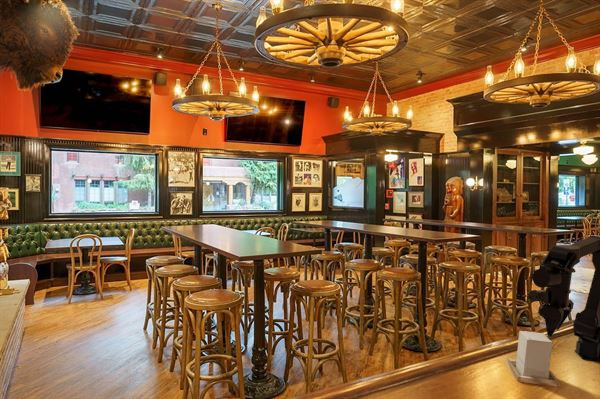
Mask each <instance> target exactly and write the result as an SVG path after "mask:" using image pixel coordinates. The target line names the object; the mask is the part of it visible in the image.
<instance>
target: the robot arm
mask: <svg viewBox="0 0 600 399" xmlns="http://www.w3.org/2000/svg"><path fill="white" fill-rule="evenodd" d="M588 255H591V263H592V265H593V268H594V272H593V275H592V276H593V277H592V279H591V283H590V288H589V291H588V294H587V299H586V303H585V307H584V309H583V310H581V311H579V312H577V313H575V318H574V321H573V325H572V326H573V335H574V336H575V337H577V338H578V339H577V340H576V345H575V349H574V353H576V354H577V355H578V357H580V358H581V359H582V360H586V361H595V362H600V236H599V235H594V234H593V235H589V236H588V237H586V238H584V239H582V240H579V241H577V242H574V243H571V244H558V245H554V246H552V247H551V248H550V249H549V251H548V252H547V253H546V256H545V257H544V259H543V261H542V262H541V264H540V265H539V267H538V268H537V269H535V270H534V271H533V273H532V274H531V281H532V284H533V283H534V285H535V286H536V287H538V288H545V289H534V290H532V289H530V290H529V291H528V292H527V296H526V299H528V301H529V303H535V302H543V304H542V305H540V306H539V307H538V311H537V314H539V316H540V317H542V318H543V319H544V323H545V328H546V336H547V337H553V335H554V334H555V332H556V331H559V330H560V328H561V327H562V325H563V324H564V323H565V321H566V319H567V318H568V317H569V315H570V314H571V312H572V310H573V309H574V304H575V303H574V302H573V300H572V299H569V298H570V294H571V293H572V290H571V284H572V275H573V274H574V273H576V272H577V271H576V269H575V268H574V267H575V266H576V265H578V264H579V263H580V262H581V258H583V257H585V256H588Z"/></svg>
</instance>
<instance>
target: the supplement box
mask: <svg viewBox="0 0 600 399" xmlns="http://www.w3.org/2000/svg"><path fill="white" fill-rule="evenodd" d="M552 348H553V341H552V340H551V339H550V338H549V337H548V336H547V335H546V334H544V332H542V333H541V332H535V331H527V330H526V331H525V330H519V332H518V340H517V351H516V359H515V360H516V366H515V369H516V371H517V372H518V374H519V375H520V376H526V377H533V378H541V379H548V380H549V379H550V378H549V370H550V369H551V368H550V367H551V358H552V350H553V349H552Z"/></svg>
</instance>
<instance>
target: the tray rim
mask: <svg viewBox="0 0 600 399" xmlns="http://www.w3.org/2000/svg"><path fill="white" fill-rule="evenodd" d="M516 360H517V359H510V358H506V362H505V364H506V366H507V367H508V369H509V370H510V372H511V373H512V375H513V377H514V378H515V380H516V381H517V382H520V383H526V384H533V385H534V384H536V385H542V386H549V387H555V388H556V387H557V388H560V386H561V382H560V381H559V379H558V378H557V377H556V376H555V375H554V373H553V372H552V371H551V370H550V369H549V378H548V379H541V378H533V377H526V376H521V375H520V373H519V372H518V370H517V369H516Z"/></svg>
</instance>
